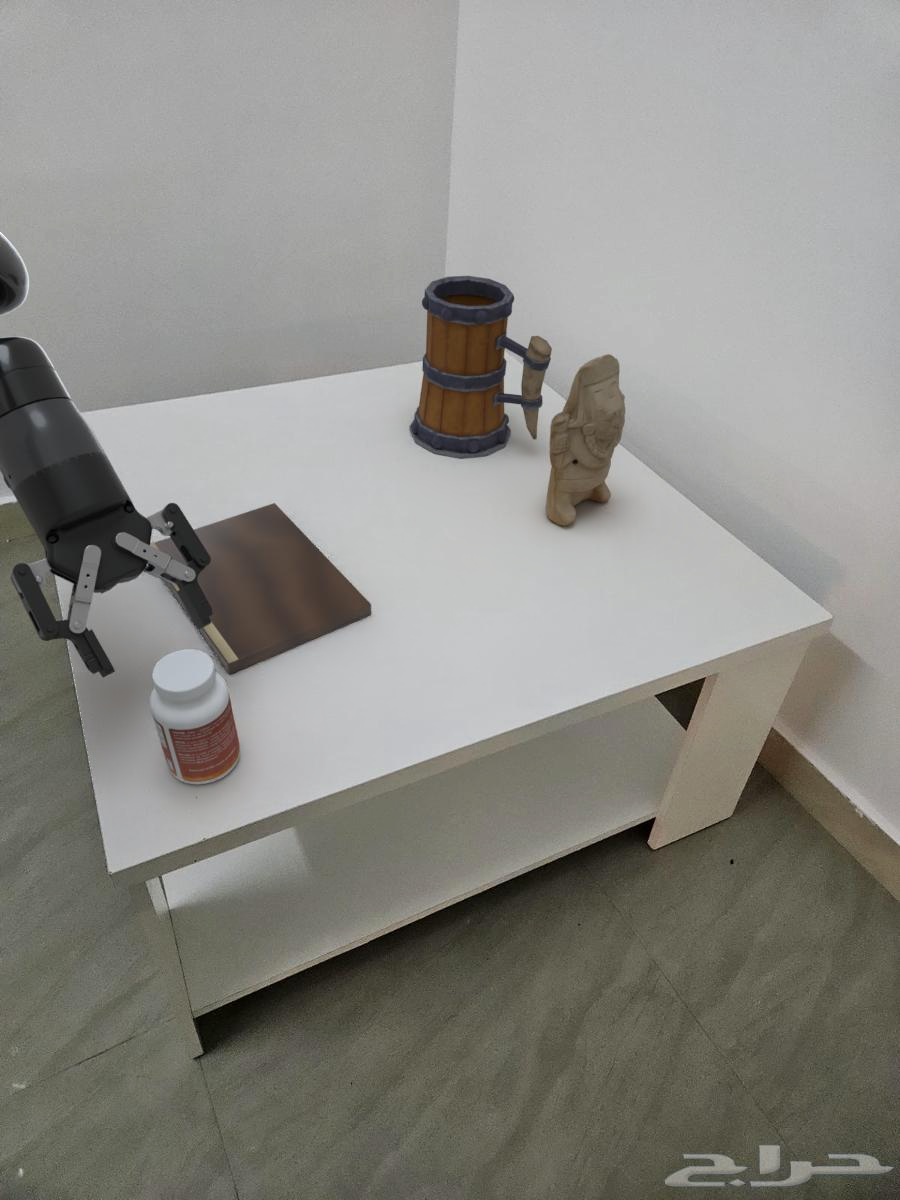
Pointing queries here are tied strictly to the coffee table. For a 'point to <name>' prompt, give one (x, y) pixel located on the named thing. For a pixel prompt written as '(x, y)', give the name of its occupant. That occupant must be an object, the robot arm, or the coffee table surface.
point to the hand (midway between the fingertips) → (159, 649)
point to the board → (267, 587)
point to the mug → (473, 369)
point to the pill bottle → (194, 717)
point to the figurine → (585, 439)
